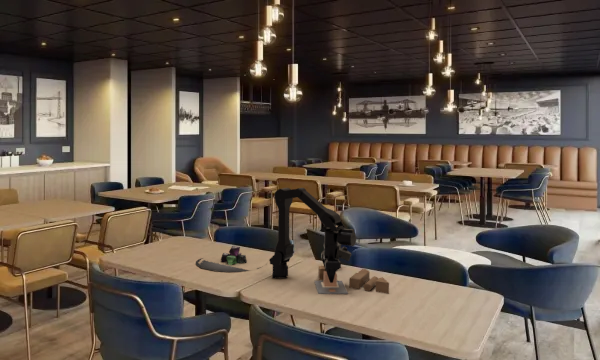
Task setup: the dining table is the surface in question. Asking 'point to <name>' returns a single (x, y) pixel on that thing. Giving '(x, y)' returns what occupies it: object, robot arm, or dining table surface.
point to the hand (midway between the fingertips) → (330, 279)
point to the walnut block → (321, 272)
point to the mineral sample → (229, 258)
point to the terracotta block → (327, 282)
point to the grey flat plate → (330, 288)
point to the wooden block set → (363, 277)
